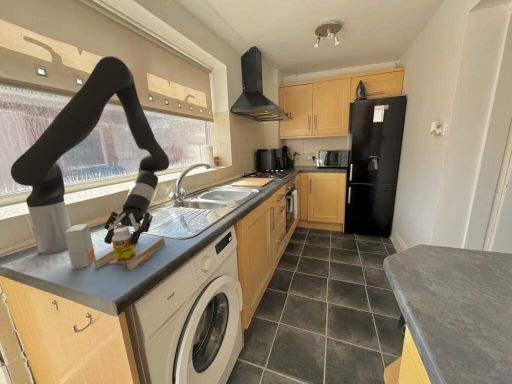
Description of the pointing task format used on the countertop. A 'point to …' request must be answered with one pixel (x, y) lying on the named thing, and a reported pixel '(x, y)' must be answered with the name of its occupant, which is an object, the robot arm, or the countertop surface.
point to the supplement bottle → (123, 245)
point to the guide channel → (134, 261)
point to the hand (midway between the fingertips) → (119, 243)
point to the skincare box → (80, 246)
